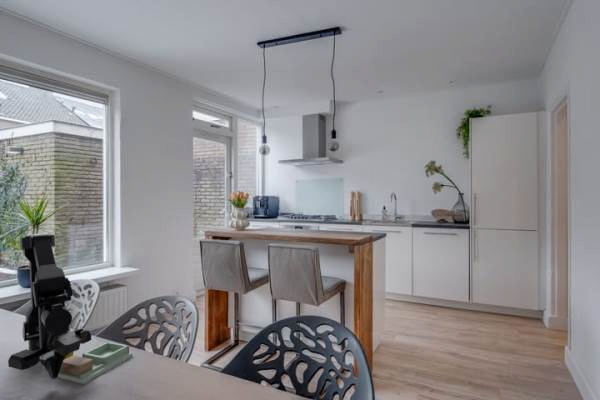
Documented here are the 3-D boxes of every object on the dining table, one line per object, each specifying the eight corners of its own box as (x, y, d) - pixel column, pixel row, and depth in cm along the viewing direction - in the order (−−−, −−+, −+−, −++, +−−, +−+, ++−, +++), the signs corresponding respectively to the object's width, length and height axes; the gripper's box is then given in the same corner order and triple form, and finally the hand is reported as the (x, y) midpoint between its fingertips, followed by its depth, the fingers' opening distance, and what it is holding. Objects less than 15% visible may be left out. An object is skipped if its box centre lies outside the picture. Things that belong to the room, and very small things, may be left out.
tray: (53, 376, 101) (52, 365, 101) (105, 350, 117) (104, 341, 117) (83, 383, 97) (82, 372, 97) (132, 356, 113) (132, 346, 113)
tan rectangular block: (60, 371, 101) (59, 361, 101) (73, 365, 105) (73, 355, 105) (79, 376, 98) (79, 366, 98) (92, 369, 102) (92, 359, 102)
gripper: (35, 339, 84) (37, 404, 84) (104, 313, 101) (106, 367, 102) (5, 333, 88) (8, 395, 88) (76, 309, 105) (78, 360, 106)
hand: (54, 378), depth 96 cm, fingers closed
